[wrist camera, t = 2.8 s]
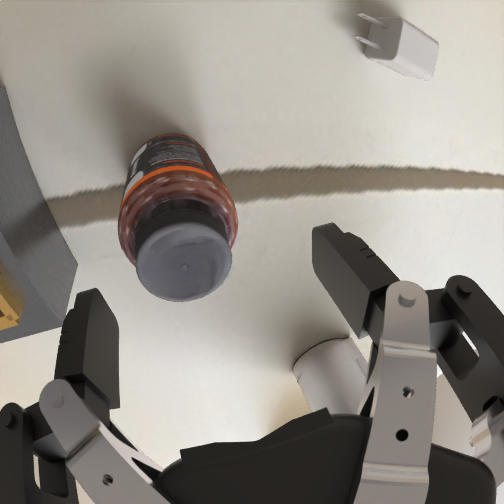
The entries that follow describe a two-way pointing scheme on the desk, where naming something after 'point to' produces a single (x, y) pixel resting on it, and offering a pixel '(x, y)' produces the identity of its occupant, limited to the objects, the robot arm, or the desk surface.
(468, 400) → the robot arm
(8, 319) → the grey square box
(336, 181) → the desk surface
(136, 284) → the desk surface
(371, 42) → the usb wall charger
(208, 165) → the supplement bottle
